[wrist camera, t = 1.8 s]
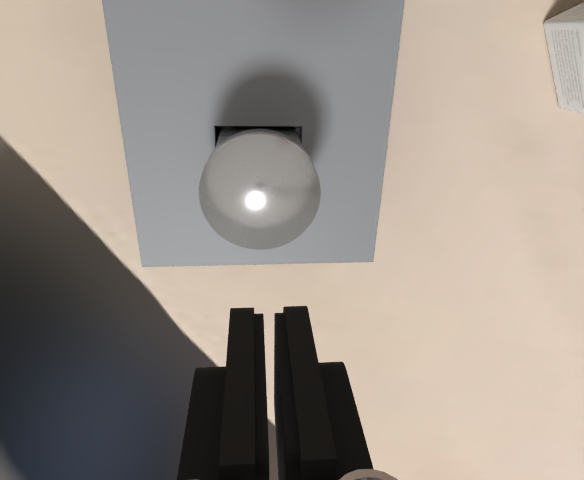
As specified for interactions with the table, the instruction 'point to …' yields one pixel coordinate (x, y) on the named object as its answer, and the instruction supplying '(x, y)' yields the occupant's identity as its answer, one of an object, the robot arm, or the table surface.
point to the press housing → (253, 113)
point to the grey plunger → (259, 186)
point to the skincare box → (567, 56)
